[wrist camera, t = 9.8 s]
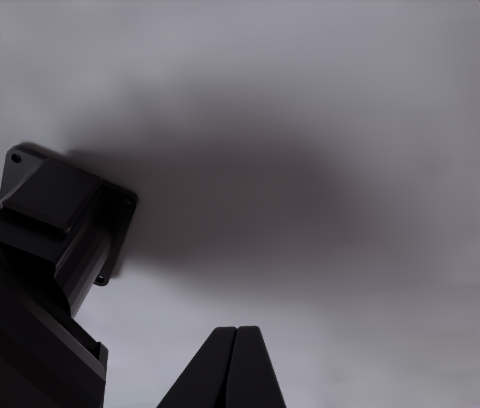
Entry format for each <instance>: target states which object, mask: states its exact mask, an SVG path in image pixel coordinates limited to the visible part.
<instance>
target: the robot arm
mask: <svg viewBox="0 0 480 408" xmlns="http://www.w3.org/2000/svg"><path fill="white" fill-rule="evenodd" d="M16 154H18V155H19V156H20V157H21V158H22V160H21V159H19V158H17V156H16ZM124 199H128V200H129V201H131V204H128V203H126V202H125V200H124ZM138 203H139V199H138V196H137V195H136V194H135V193H133V192H132V191H129V190H127V189H124V188H122V187H120V186H117V185H115V184H112V183H110V182H107V181H105V180H103V179H100V178H99V177H98V176H95V175H93V174H90V173H88V172H85V171H83V170H81V169H78V168H76V167H73V166H71V165H68V164H66V163H64V162H61V161H59V160H56V159H54V158H49V157H47V156H44V155H42V154H40V153H37V152H35V151H32V150H30V149H27V148H25V147H23V146H19V145H18V146H14V147H12V148H11V149H10V150H9V151H7V154H6V158H5V164H4V170H3V176H2V183H1V189H0V408H103V404H104V393H105V384H106V371H107V360H108V349H107V348H106V347H105V346H104V345H103V344H102V343H101V342H96V341H95V340H94V339H93V338H92V337H91V336H90V335H89V334H88V333H87V332H86V331H85V330H84V329H83V328H82V327H81V326H80V325H79V324H78V323H77V322H76V321H75V320H74V317H75V316H76V314H77V312H78V310H79V308H80V306H81V305H82V303H83V301H84V299H85V297H86V296H87V294H88V292H89V290H90V288H91V286H92V285H93V284H95V285H98V286H105V285H107V284H108V282H109V280H110V278H111V276H112V273H113V270H114V268H115V265H116V262H117V260H118V257H119V254H120V252H121V249H122V246H123V244H124V241H125V238H126V236H127V233H128V230H129V228H130V225H131V222H132V219H133V217H134V214H135V211H136V209H137V206H138ZM99 276H101V277H103V278H101V277H99ZM156 408H287V407H286V405H285V402H284V399H283V396H282V393H281V390H280V387H279V384H278V381H277V378H276V375H275V372H274V369H273V366H272V363H271V360H270V357H269V354H268V351H267V348H266V346H265V343H264V340H263V337H262V334H261V331H260V328H259V327H258V326H240V327H239V328H238V329H237V328H236V327H217V328H215V329H214V330H213V332H212V333H211V334H210V336H209V337H208V338H207V340H206V341H205V342H204V344H203V345H202V346H201V348H200V349H199V350H198V352H197V353H196V355H195V356H194V357H193V359H192V360H191V361H190V363H189V364H188V365H187V367H186V368H185V369H184V371H183V372H182V374H181V375H180V376H179V378H178V379H177V380H176V382H175V383H174V384H173V386H172V387H171V388H170V390H169V391H168V392H167V394H166V395H165V397H164V398H163V399H162V401H161V402H160V403H159V405H158V406H157V407H156Z"/></svg>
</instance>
